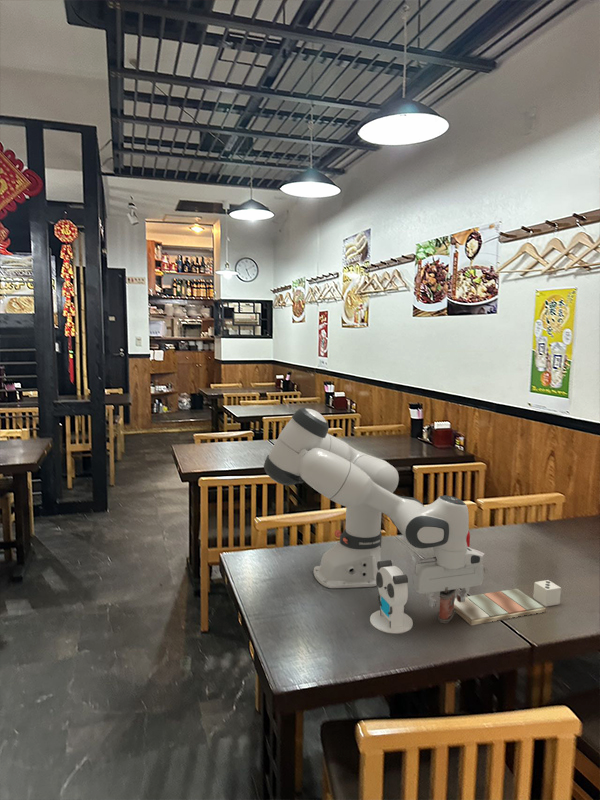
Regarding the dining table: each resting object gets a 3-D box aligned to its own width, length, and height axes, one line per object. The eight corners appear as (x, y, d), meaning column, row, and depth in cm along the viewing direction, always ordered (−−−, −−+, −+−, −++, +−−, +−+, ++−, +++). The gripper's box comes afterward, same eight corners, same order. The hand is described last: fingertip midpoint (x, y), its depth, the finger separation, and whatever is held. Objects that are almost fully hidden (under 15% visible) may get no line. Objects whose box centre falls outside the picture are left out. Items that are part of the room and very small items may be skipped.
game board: (471, 625, 142) (471, 620, 142) (445, 603, 154) (446, 598, 154) (545, 612, 150) (546, 607, 150) (516, 591, 161) (516, 587, 161)
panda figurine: (362, 612, 148) (364, 560, 146) (399, 607, 151) (402, 556, 149) (380, 636, 137) (382, 580, 135) (420, 630, 140) (423, 575, 138)
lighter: (448, 624, 143) (450, 589, 141) (435, 620, 144) (437, 585, 143) (456, 611, 149) (458, 577, 148) (444, 607, 151) (446, 574, 150)
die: (545, 606, 153) (547, 589, 152) (533, 598, 158) (534, 581, 157) (559, 604, 154) (561, 587, 154) (546, 595, 159) (548, 579, 158)
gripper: (421, 564, 138) (419, 614, 140) (488, 556, 145) (485, 604, 146) (409, 554, 144) (407, 603, 146) (474, 547, 151) (471, 593, 152)
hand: (446, 603), depth 146 cm, fingers open, 8 cm apart
